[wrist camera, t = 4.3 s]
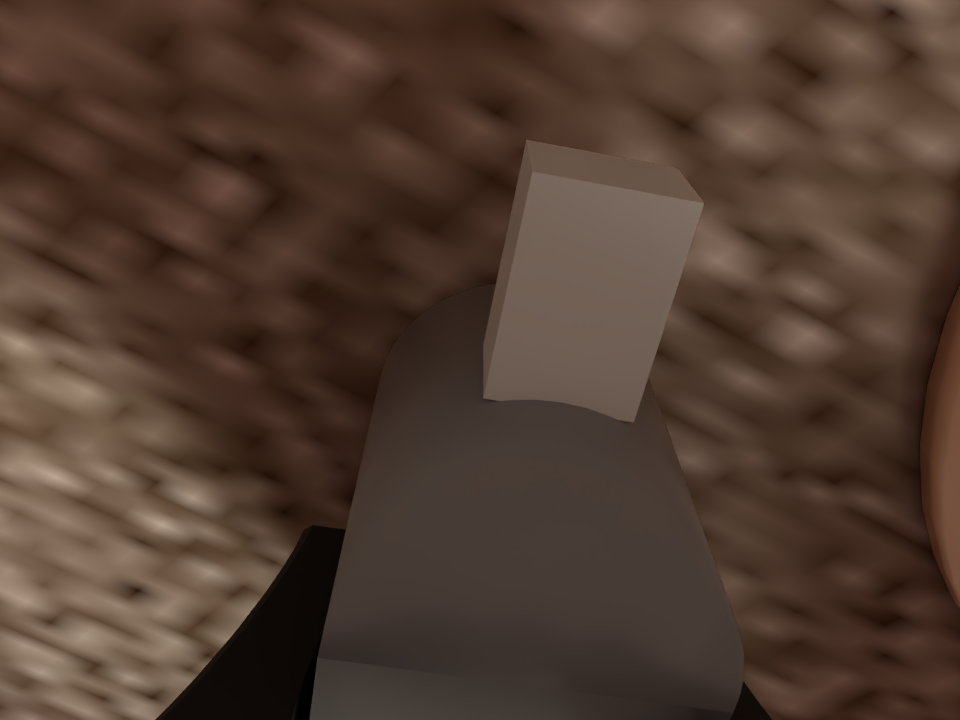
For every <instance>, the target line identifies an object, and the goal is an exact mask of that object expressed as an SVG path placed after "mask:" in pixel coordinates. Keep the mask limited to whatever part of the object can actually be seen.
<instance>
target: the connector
mask: <svg viewBox="0 0 960 720" xmlns="http://www.w3.org/2000/svg"><path fill="white" fill-rule="evenodd" d="M703 206H704V202H703V201H702V200H701V198H700V197H699V196H698V194H697V193H696V192H695V190H694V189H693V188H692V186H691V185H690V184H689V183H688V181H687V180H686V179H685V177H684V176H683V175H682V173H681V172H680V171H679V169H678V168H675V167H670V166H665V165H659V164H654V163H649V162H643V161H638V160H633V159H627V158H622V157H617V156H611V155H606V154H601V153H595V152H590V151H585V150H579V149H574V148H569V147H563V146H558V145H553V144H547V143H542V142H537V141H531V140H526V143H525V148H524V153H523V158H522V163H521V167H520V172H519V177H518V182H517V186H516V191H515V196H514V201H513V205H512V210H511V215H510V220H509V225H508V229H507V234H506V239H505V244H504V248H503V253H502V258H501V263H500V267H499V272H498V277H497V282H496V284H489V285H483V286H479V287H475V288H472V289H468V290H465V291H462V292H460V293H457V294H455V295H452V296H450V297H448V298H446V299H444V300H442V301H440V302H439V303H437V304H435V305H433V306H432V307H430V308H429V309H428V310H426V311H425V312H424V313H422V314H421V315H420V316H418V317H417V318H416V319H415V320H414V321H413V322H412V323H411V324H410V325H409V326H408V327H407V328H406V329H405V330H404V331H403V333H402V334H401V335H400V337H399V338H398V339H397V340H396V342H395V343H394V345H393V347H392V349H391V350H390V352H389V354H388V356H387V358H386V361H385V363H384V366H383V368H382V371H381V375H380V380H379V384H378V389H377V393H376V398H375V402H374V407H373V411H372V416H371V420H370V425H369V429H368V433H367V438H366V442H365V447H364V451H363V456H362V460H361V465H360V469H359V474H358V478H357V483H356V487H355V492H354V496H353V501H352V505H351V510H350V514H349V519H348V523H347V528H346V532H345V537H344V541H343V546H342V550H341V554H340V559H339V563H338V568H337V572H336V577H335V581H334V586H333V590H332V595H331V599H330V604H329V608H328V613H327V617H326V622H325V626H324V631H323V635H322V640H321V644H320V649H319V653H318V658H317V665H316V673H315V681H314V688H313V696H312V704H311V712H310V719H309V720H730V718H731V716H732V714H733V712H734V709H735V707H736V704H737V702H738V699H739V696H740V694H741V689H742V683H743V678H744V650H743V645H742V639H741V634H740V632H739V629H738V626H737V623H736V620H735V618H734V615H733V612H732V609H731V606H730V604H729V601H728V598H727V595H726V592H725V590H724V587H723V584H722V581H721V578H720V576H719V573H718V570H717V567H716V564H715V562H714V559H713V556H712V553H711V551H710V548H709V545H708V542H707V539H706V537H705V534H704V531H703V528H702V525H701V523H700V520H699V517H698V514H697V511H696V509H695V506H694V503H693V500H692V497H691V495H690V492H689V489H688V486H687V483H686V481H685V478H684V475H683V472H682V469H681V467H680V464H679V461H678V458H677V455H676V453H675V450H674V447H673V444H672V441H671V439H670V436H669V433H668V430H667V427H666V425H665V422H664V419H663V416H662V413H661V411H660V408H659V405H658V402H657V399H656V397H655V394H654V391H653V388H652V385H651V383H650V380H649V374H650V371H651V368H652V364H653V361H654V358H655V355H656V352H657V349H658V346H659V343H660V340H661V337H662V333H663V330H664V327H665V324H666V321H667V318H668V315H669V312H670V309H671V306H672V302H673V299H674V296H675V293H676V290H677V287H678V284H679V281H680V278H681V275H682V271H683V268H684V265H685V262H686V259H687V256H688V253H689V250H690V247H691V243H692V240H693V237H694V234H695V231H696V228H697V225H698V222H699V219H700V216H701V212H702V209H703Z"/></svg>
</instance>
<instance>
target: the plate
mask: <svg viewBox="0 0 960 720" xmlns="http://www.w3.org/2000/svg"><path fill="white" fill-rule="evenodd" d="M920 472H921V499H922V507H923V512H924V516H925V521H926V525H927V530H928V534H929V539H930V543H931V548H932V552H933V555H934V557H935V560H936V562H937V564H938V566H939V569H940V571H941V573H942V576H943V578H944V580H945V582H946V585H947V587H948V589H949V591H950V594H951V596H952V598H953V599H954V601H955V602H956V604H957V605H958V607H959V608H960V285H959V288H958V290H957V292H956V295H955V297H954V299H953V302H952V304H951V306H950V309H949V311H948V314H947V316H946V320H945V324H944V327H943V331H942V334H941V338H940V341H939V345H938V349H937V352H936V356H935V359H934V363H933V366H932V370H931V374H930V377H929V381H928V384H927V392H926V400H925V408H924V416H923V424H922V432H921V440H920Z"/></svg>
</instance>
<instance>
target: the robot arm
mask: <svg viewBox="0 0 960 720" xmlns="http://www.w3.org/2000/svg"><path fill="white" fill-rule="evenodd" d="M345 532H346V530H343V529H336V528H329V527H322V526H315V525H312V526H310V527H309V528H307V529H305V530H304V531H303V533H302V535H301V537H300V539H299V541H298V543H297V545H296V547H295V548H294V550H293V552H292V554H291V555H290V557H289V558H288V560H287V562H286V563H285V565H284V566H283V568H282V569H281V571H280V572H279V574H278V575H277V577H276V578H275V580H274V581H273V583H272V584H271V585H270V587H269V588H268V590H267V591H266V593H265V594H264V595H263V597H262V598H261V599H260V600H259V602H258V603H257V604H256V606H255V607H254V608H253V610H252V611H251V612H250V614H249V615H248V616H247V617H246V619H245V620H244V621H243V623H242V624H241V625H240V627H239V628H238V629H237V630H236V632H235V633H234V634H233V635H232V637H231V638H230V639H229V640H228V641H227V642H226V644H225V645H224V646H223V647H222V648H221V649H220V650H219V652H218V653H217V654H216V655H215V656H214V657H213V659H212V660H211V661H210V662H209V663H208V664H207V665H206V667H205V668H204V669H203V670H202V671H201V672H200V674H199V675H198V676H197V677H196V678H195V679H194V680H193V681H192V682H191V684H190V685H189V686H188V687H187V688H186V689H185V690H184V691H183V692H182V693H181V694H180V695H179V696H178V697H177V698H176V699H175V700H174V701H173V703H172V704H171V705H170V706H169V707H168V708H167V709H166V710H165V711H164V712H163V713H162V714H161V715H160V716H159V717H158V718H157V719H156V720H309V719H310V712H311V704H312V696H313V688H314V681H315V673H316V665H317V658H318V653H319V649H320V644H321V640H322V635H323V631H324V626H325V622H326V617H327V613H328V608H329V604H330V599H331V595H332V590H333V586H334V581H335V577H336V572H337V568H338V563H339V559H340V554H341V550H342V546H343V541H344V537H345ZM730 720H772V719H771V718H770V716H769V715H768V714H767V712H766V711H765V710H764V709H763V707H762V706H761V705H760V703H759V702H758V701H757V699H756V698H755V697H754V695H753V694H752V693H751V691H750V690H749V688H748V687H747V686H746V684H745V683H744V682H743V683H742V689H741V694H740V696H739V699H738V702H737V704H736V707H735V709H734V712H733V714H732V716H731V718H730Z"/></svg>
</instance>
